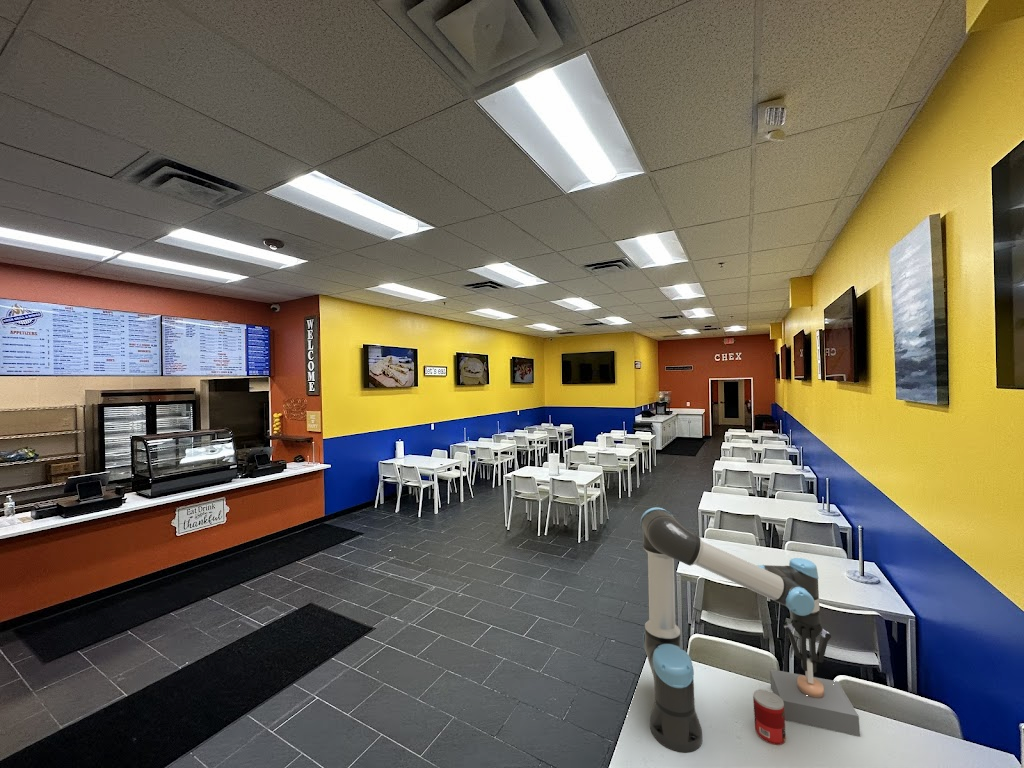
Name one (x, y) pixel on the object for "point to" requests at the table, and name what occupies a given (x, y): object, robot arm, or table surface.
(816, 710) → the control box
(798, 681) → the knob
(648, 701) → the table surface
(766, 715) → the canned food
